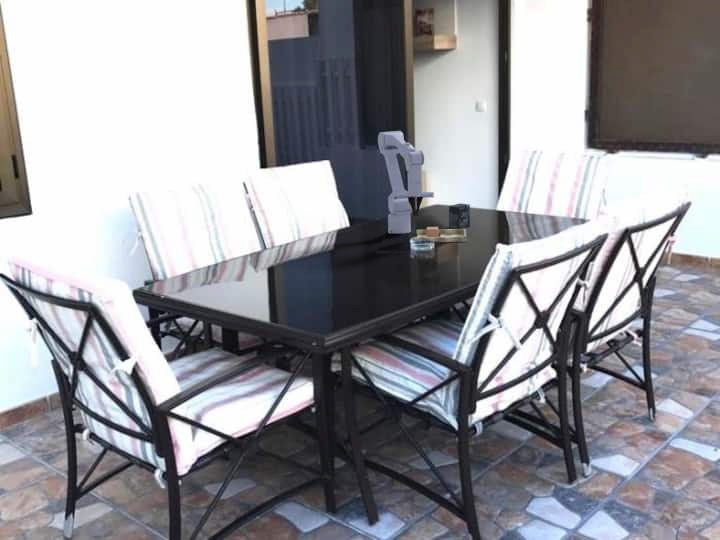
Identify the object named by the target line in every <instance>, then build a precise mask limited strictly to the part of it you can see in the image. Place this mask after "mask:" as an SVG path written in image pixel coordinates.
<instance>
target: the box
mask: <svg viewBox="0 0 720 540" xmlns="http://www.w3.org/2000/svg"><path fill="white" fill-rule="evenodd" d="M470 227H471V204H468V203H456V204H451V205H448V229H449V228H450V229H466V228H470Z"/></svg>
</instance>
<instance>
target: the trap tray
mask: <svg viewBox="0 0 720 540" xmlns="http://www.w3.org/2000/svg"><path fill="white" fill-rule="evenodd" d="M416 235H417V236H415V237H413V241H414V240H418V239H419V240H430V241H433V242H432V243H452V242H453V243H457V242H459V243H460V242H461V243H463V242H467V228H460V229H458V228H450V229H449V228H447V229H445V228H443V229H439V228H438V235H439V237H427V229H416Z"/></svg>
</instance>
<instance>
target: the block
mask: <svg viewBox="0 0 720 540" xmlns="http://www.w3.org/2000/svg"><path fill="white" fill-rule="evenodd" d="M438 229H439V226H427V227H426V230H427V237H439V236H440V235H438Z"/></svg>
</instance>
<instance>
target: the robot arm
mask: <svg viewBox="0 0 720 540" xmlns="http://www.w3.org/2000/svg"><path fill="white" fill-rule="evenodd" d="M377 137H378V138H377V145H378V149H379V151H380V154H381V155H383V156H384V160H385V165H386V168H387V173H388V177H389V178H388V179H389V183H390V185H391V190H392V192H391V193H390V194H389V195H388V197H387V201H388V202H387V203H388V204H387V205H388V211H389V212H390V213H389V214H388V216H387V226H388V227H387V231H388V234H409V233H411V232H412V230H411V229H412V228H411V214H413V217H419V212H420V207H421V205H422V202H423V199H424V198H432V199H433V198H434V197H435V196H434V194H435V193H434V191H423V167H422V166H423V165H424V163H425V155H424V153H423V151H422V150H416V148H415V147H414V146H413V145H412V144H411V143H410V142H406V141H405V140H404V139H405V137H404V133H403V132H402V131H401V130H396V131H395V130H394V131H393V130H392V131H383V132H382V131H379V134H378V136H377ZM398 154H400V156H401V157H402V158H403V159H404V165H405V171H407V190H406V189H405V187H404V184H403V179H402V175H401V174H402V173H401V171H400V167H399V161H398V158H397V155H398Z"/></svg>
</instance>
